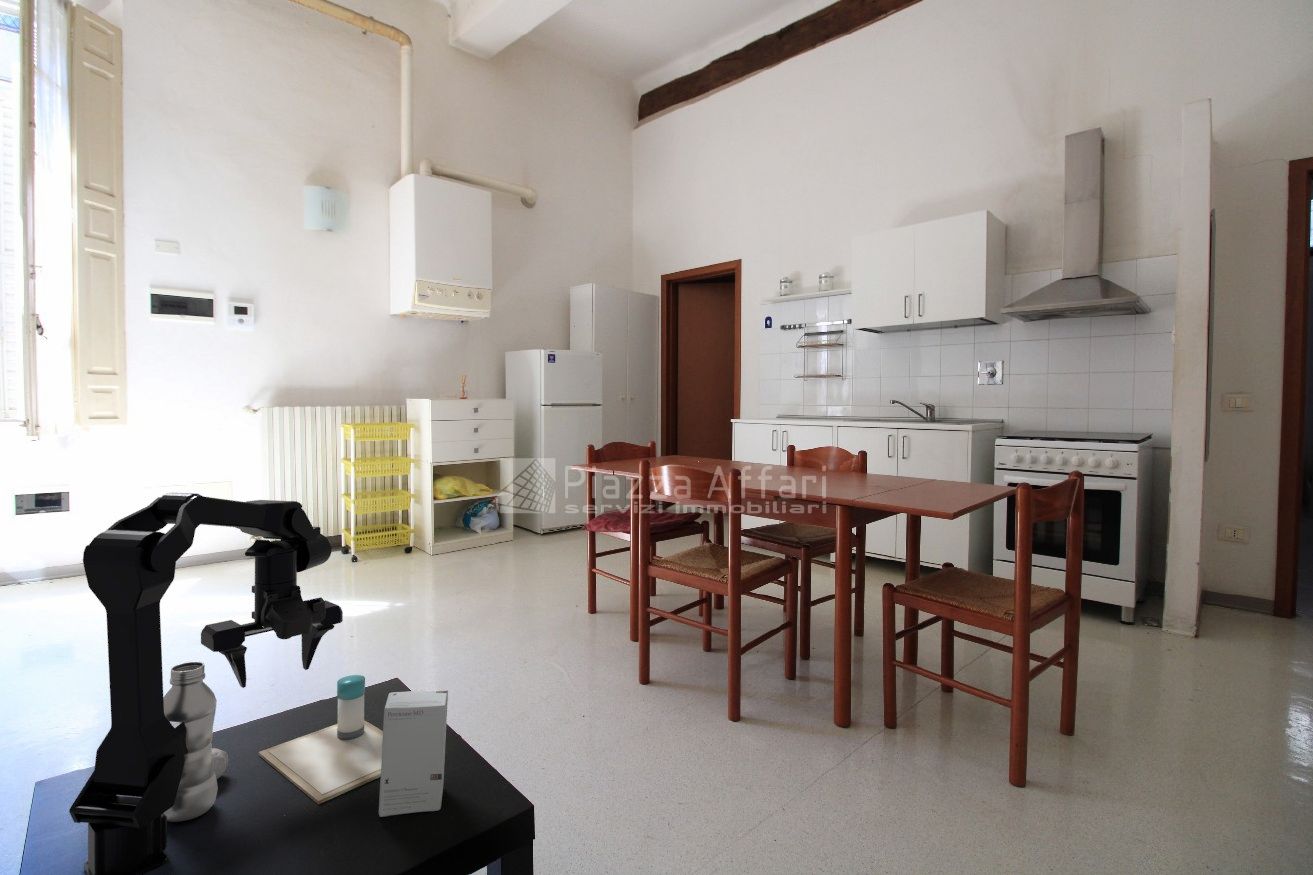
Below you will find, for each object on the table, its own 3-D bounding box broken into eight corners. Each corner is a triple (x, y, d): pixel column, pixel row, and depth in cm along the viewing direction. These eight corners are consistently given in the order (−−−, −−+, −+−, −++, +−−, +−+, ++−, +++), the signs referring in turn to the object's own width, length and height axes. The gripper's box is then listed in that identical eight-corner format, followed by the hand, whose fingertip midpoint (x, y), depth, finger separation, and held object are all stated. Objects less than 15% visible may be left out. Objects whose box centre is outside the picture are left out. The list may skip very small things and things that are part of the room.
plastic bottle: (187, 832, 83) (187, 678, 82) (143, 824, 84) (143, 673, 84) (229, 803, 89) (230, 660, 89) (188, 796, 91) (188, 655, 90)
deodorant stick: (344, 742, 105) (344, 687, 105) (331, 734, 108) (332, 680, 107) (369, 733, 108) (369, 679, 108) (356, 725, 111) (357, 672, 111)
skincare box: (378, 818, 87) (379, 709, 86) (385, 793, 93) (386, 690, 92) (444, 810, 89) (445, 704, 88) (446, 786, 95) (448, 685, 94)
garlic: (179, 798, 90) (179, 761, 90) (177, 780, 94) (177, 745, 94) (230, 783, 94) (231, 748, 94) (226, 767, 98) (226, 733, 98)
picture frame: (318, 804, 90) (318, 800, 90) (258, 755, 102) (258, 751, 102) (422, 757, 102) (422, 754, 102) (358, 718, 114) (358, 715, 114)
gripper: (228, 602, 90) (228, 713, 90) (359, 577, 104) (359, 673, 105) (199, 587, 96) (199, 691, 97) (326, 566, 111) (326, 656, 112)
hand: (275, 677), depth 102 cm, fingers open, 9 cm apart
